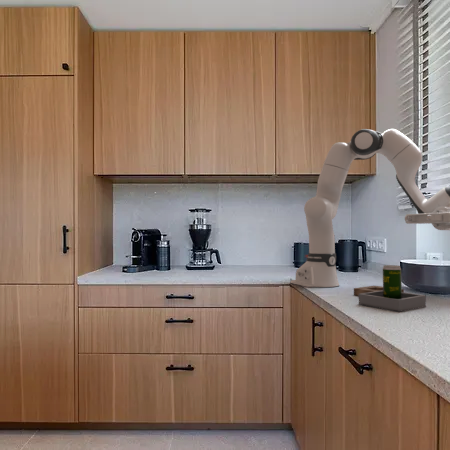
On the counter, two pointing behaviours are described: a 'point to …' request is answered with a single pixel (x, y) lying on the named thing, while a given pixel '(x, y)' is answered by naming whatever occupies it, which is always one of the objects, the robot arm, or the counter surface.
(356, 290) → the brown square board
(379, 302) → the tray
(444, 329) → the counter surface
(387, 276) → the beer can
